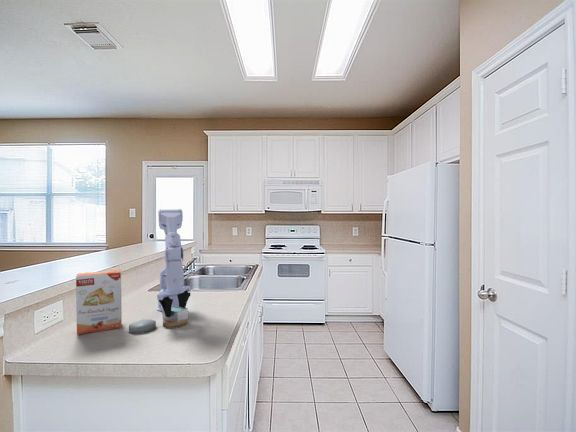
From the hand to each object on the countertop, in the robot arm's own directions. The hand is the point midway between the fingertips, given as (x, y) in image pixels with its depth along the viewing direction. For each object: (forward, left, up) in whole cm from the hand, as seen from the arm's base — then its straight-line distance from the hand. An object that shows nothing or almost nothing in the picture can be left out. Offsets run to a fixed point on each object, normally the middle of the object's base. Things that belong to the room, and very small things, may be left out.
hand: (175, 314), depth 119 cm
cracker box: (-21, -16, -4) cm, 27 cm away
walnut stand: (0, 0, -4) cm, 4 cm away
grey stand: (-7, -9, -4) cm, 12 cm away
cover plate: (0, 0, +1) cm, 1 cm away
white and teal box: (0, 0, -2) cm, 2 cm away
